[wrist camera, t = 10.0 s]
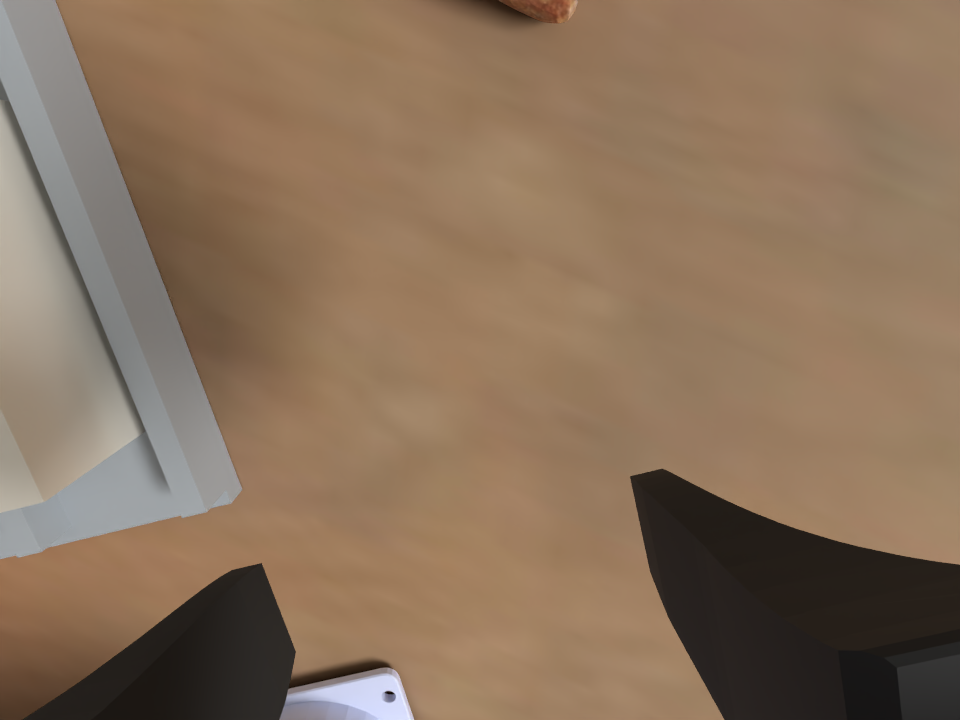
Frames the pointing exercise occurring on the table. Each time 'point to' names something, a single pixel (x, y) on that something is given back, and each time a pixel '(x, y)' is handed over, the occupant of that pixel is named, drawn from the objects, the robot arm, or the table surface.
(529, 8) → the ceramic shard
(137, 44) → the table surface
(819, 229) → the table surface
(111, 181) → the grey ridged tray
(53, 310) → the white rectangular block
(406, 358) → the table surface
